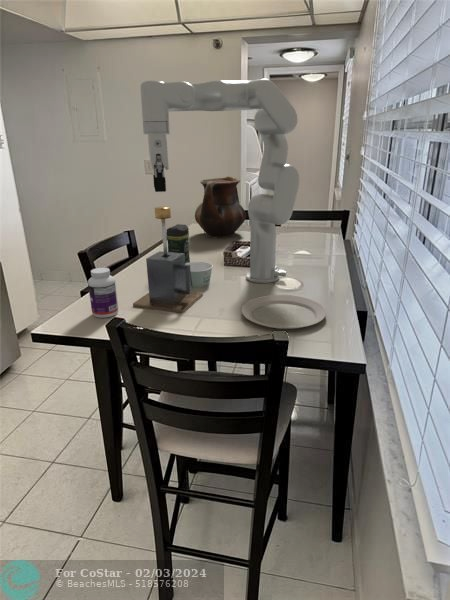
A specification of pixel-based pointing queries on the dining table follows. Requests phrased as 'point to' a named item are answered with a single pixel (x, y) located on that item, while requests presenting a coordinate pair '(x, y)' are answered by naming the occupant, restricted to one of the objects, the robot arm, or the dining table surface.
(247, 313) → the plate
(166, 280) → the block on wooden base
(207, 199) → the jug
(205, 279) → the food container
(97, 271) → the pill bottle
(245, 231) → the dining table surface
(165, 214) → the plunger
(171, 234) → the coffee jar
